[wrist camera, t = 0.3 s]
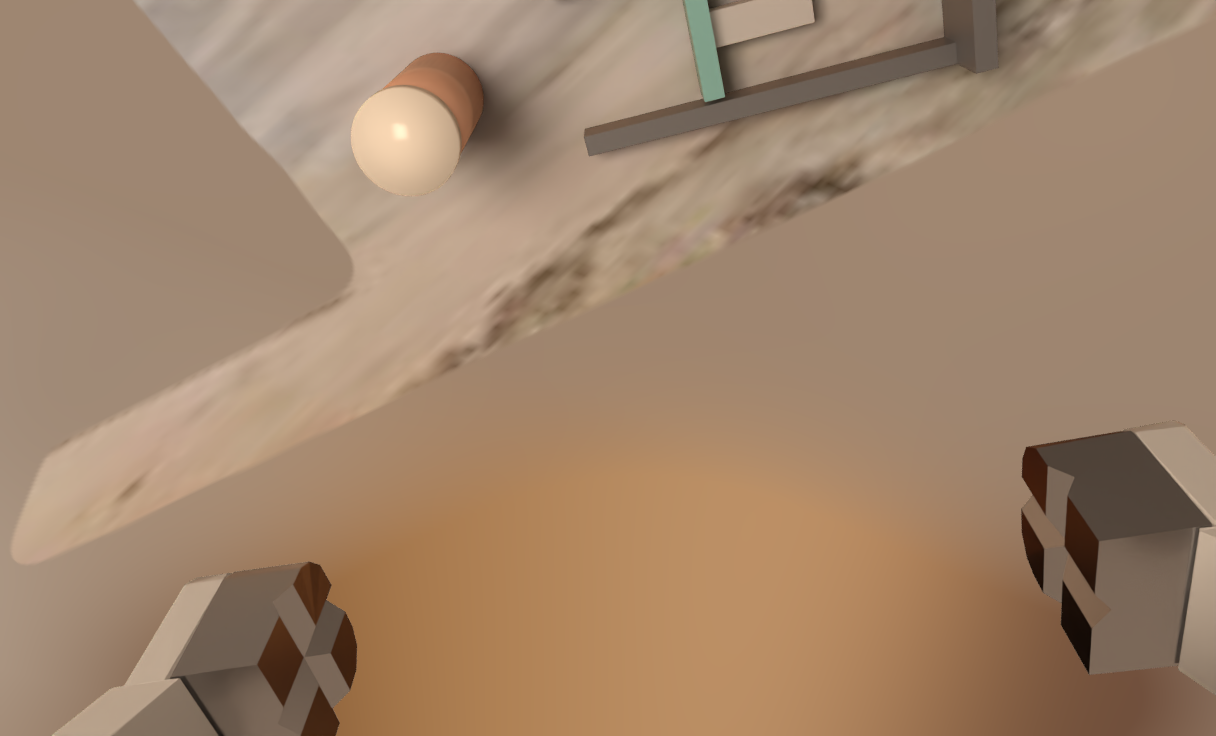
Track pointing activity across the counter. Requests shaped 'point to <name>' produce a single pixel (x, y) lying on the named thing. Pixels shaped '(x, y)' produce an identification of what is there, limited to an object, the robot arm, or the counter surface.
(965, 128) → the counter surface
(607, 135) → the pusher lane
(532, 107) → the counter surface
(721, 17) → the pusher plate
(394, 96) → the terracotta jar
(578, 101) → the counter surface
